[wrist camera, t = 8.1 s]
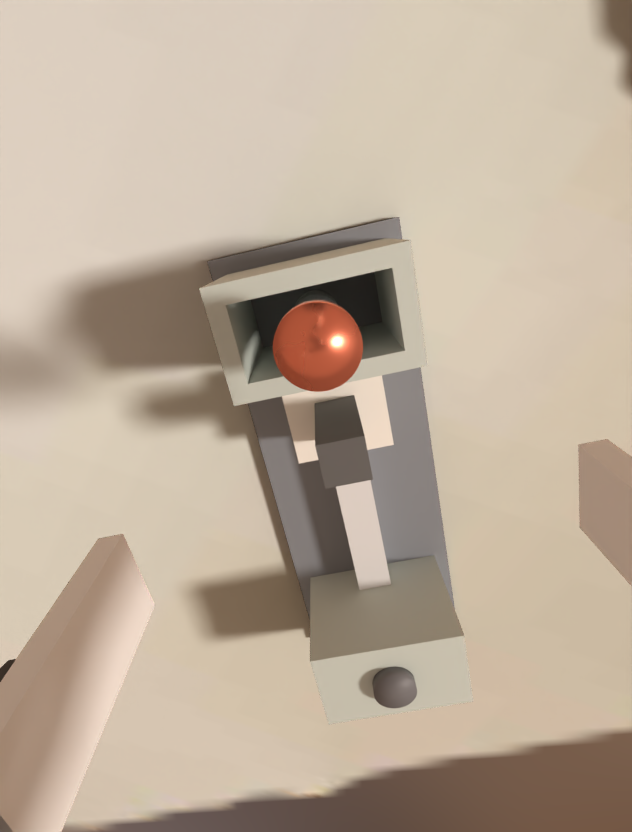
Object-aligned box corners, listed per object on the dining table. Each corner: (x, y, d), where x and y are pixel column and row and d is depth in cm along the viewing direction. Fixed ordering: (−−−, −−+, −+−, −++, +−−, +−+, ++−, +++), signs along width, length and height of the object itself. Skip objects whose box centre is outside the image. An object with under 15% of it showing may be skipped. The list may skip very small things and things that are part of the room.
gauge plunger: (278, 288, 27) (262, 313, 18) (341, 274, 26) (354, 293, 18) (292, 350, 28) (284, 399, 20) (352, 337, 28) (370, 381, 19)
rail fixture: (209, 260, 30) (166, 272, 21) (397, 217, 29) (434, 211, 20) (316, 636, 41) (317, 748, 33) (453, 613, 41) (493, 720, 32)
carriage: (283, 371, 31) (271, 428, 22) (372, 352, 31) (398, 402, 22) (300, 438, 33) (295, 517, 24) (385, 421, 33) (413, 495, 24)
